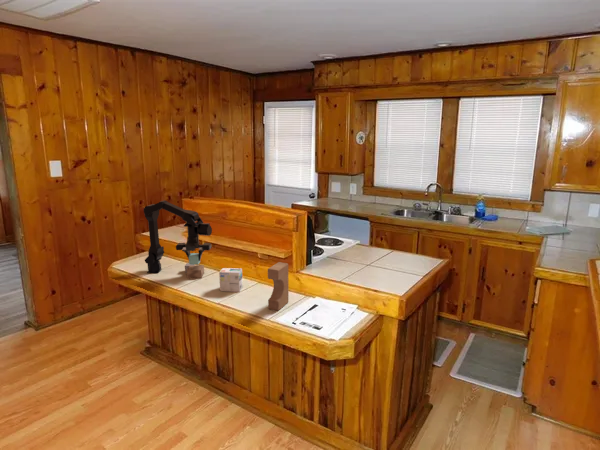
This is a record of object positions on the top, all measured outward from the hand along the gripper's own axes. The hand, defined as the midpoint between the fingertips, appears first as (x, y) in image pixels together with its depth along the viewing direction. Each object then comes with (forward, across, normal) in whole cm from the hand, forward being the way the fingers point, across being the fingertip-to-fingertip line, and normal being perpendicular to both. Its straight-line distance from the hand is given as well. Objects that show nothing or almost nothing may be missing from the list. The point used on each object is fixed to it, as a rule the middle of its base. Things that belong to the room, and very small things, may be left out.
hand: (194, 260), depth 227 cm
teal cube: (+1, 0, 0) cm, 1 cm away
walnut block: (+9, 0, 0) cm, 9 cm away
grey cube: (+9, -5, +6) cm, 12 cm away
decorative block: (+9, +50, -38) cm, 63 cm away
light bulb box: (+9, +24, -19) cm, 32 cm away
